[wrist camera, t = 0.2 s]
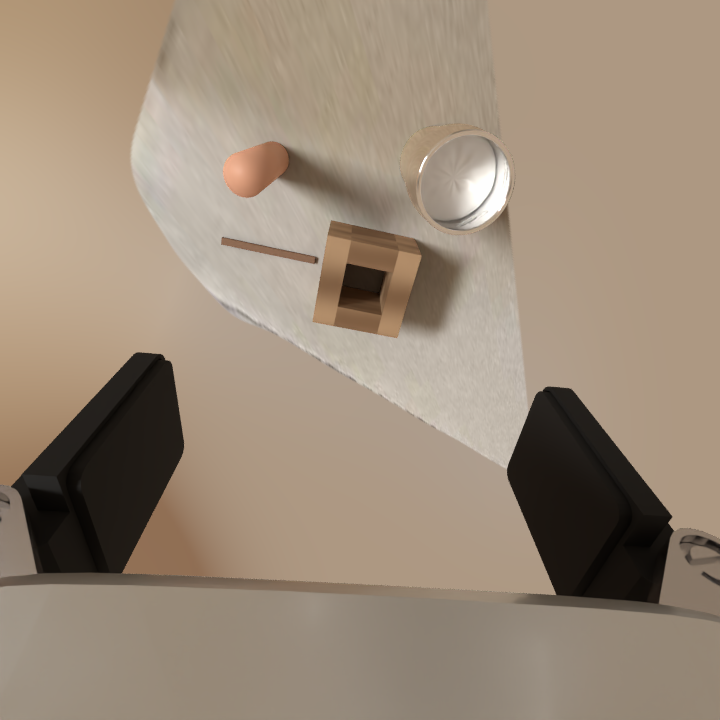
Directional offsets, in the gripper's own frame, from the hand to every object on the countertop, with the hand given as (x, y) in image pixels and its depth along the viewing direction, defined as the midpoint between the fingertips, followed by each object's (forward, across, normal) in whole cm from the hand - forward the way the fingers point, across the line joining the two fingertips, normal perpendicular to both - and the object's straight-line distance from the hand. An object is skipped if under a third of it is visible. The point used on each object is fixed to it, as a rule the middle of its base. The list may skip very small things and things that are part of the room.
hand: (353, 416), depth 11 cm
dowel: (+36, +8, -2) cm, 37 cm away
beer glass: (+36, -7, -4) cm, 37 cm away
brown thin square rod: (+36, +9, +7) cm, 38 cm away
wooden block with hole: (+36, -2, +8) cm, 37 cm away
